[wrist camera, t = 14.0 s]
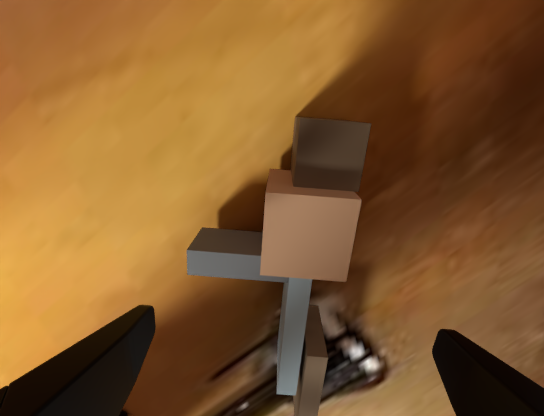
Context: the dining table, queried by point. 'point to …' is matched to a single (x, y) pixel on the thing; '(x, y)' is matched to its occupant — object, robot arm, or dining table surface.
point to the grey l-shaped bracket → (246, 265)
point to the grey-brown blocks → (333, 176)
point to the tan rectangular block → (307, 230)
